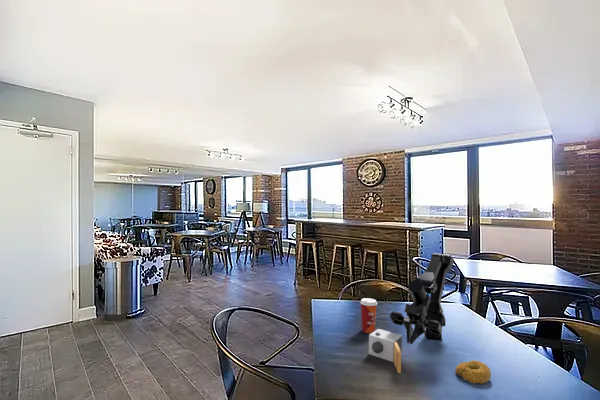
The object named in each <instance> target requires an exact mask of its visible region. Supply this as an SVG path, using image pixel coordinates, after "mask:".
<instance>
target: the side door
mask: <svg viewBox="0 0 600 400" xmlns="http://www.w3.org/2000/svg"><path fill="white" fill-rule="evenodd" d="M393 365H394V366H395V369H396V373H397V374H401V373H402V355H401V350H400V348H399V346H398V344H397V342H396V341H394V362H393Z"/></svg>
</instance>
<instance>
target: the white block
mask: <svg viewBox="0 0 600 400" xmlns="http://www.w3.org/2000/svg"><path fill="white" fill-rule="evenodd" d="M394 341H396V342H397V344H398V346H399V348H400V350H401V356H402V355H403V335H401V334H398V333H395V332H392V331H388V330H384V329H380V328H376V329H375V331H374V332H373V333H369V334H368V355H370V356H374V357H377V358H378V359H383V360H386V361H387V362H388V361H389V362H392V363H394Z"/></svg>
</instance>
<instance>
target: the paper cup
mask: <svg viewBox="0 0 600 400" xmlns="http://www.w3.org/2000/svg"><path fill="white" fill-rule="evenodd" d="M359 303H360V310H361V311H360V312H361V314H360V316H361V331H362V332H363V333H366V334H371V333H373V332H374V331H376V320H377V319H376V316H377V305H378V302H377V300H376V299H374V298H370V297H366V298H365V297H364V298H362V299H361V300H360V302H359Z"/></svg>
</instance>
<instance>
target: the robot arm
mask: <svg viewBox="0 0 600 400" xmlns="http://www.w3.org/2000/svg"><path fill="white" fill-rule="evenodd" d="M430 258H431V259H430V261H429V263H428V265H427V267H426V270H425V272H424V273H421V274H420V275H419V276H418V277H415V279H413V280H411V281H410V282H409V283H408V284H407V288H408V290H409V293H410V295H411V298H412V299H413V301H412V303H411V304H408V303H406V304H405V307H404V313H406V316H403V313H401V312H398V311H391V312H390V314H389V318H390V320H391V322H392V323H393V324H394V325H398V326H404V328H405V330H406V344H409V345H413V343H414V342H415V341H416V340H417V339H418V338H419V337H421V336H422V335H423V334H424V336H425V339H426V340H430V341H440V342H443V336H442V335H443V332H442V331H443V327H446V317H445V315H444V309H443V307H442V305H441V301H442V298H443V292H444V287H445V283H446V282H445V281H446V276H447V274H448V273H449V272H450V271H451V270H452V266H454V262H455V260H454V259H455V258H454V257H453V256H452V255H451V254H443V253H437V252H436V253H435V252H434V253H432V254H431V256H430ZM429 294H430V295H429ZM413 325H414V326H413ZM413 327H414V328H413Z"/></svg>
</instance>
